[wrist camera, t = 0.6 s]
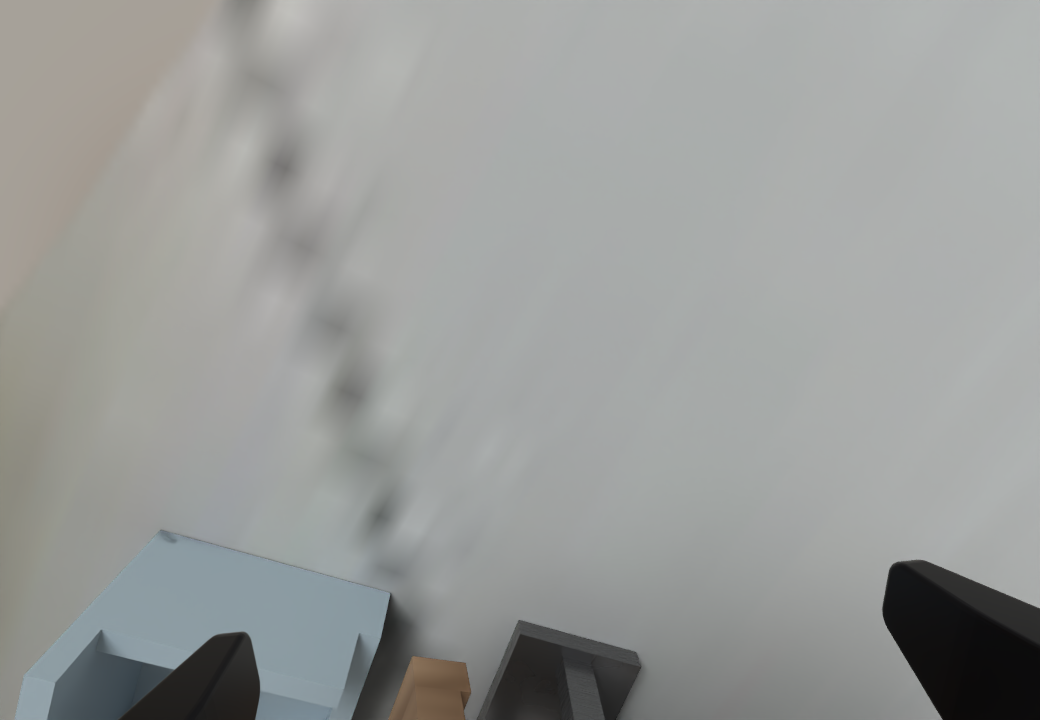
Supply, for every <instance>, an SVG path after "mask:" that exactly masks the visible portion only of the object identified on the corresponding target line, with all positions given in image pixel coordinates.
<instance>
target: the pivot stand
mask: <svg viewBox="0 0 1040 720" xmlns="http://www.w3.org/2000/svg"><path fill="white" fill-rule="evenodd" d="M640 668H641V665H640V662H639V659H638V657H637V654H636V652H633V651H629V650H625V649H622V648H618V647H615V646H611V645H607V644H604V643H600V642H596V641H593V640H589V639H586V638H582V637H578V636H575V635H571V634H567V633H564V632H560V631H557V630H553V629H549V628H546V627H542V626H538V625H535V624H531V623H528V622H524V621H520V620H519V621H518V623H517V626H516V628H515V630H514V633H513V635H512V637H511V640H510V642H509V645H508V647H507V649H506V652H505V654H504V656H503V659H502V661H501V664H500V666H499V668H498V671H497V673H496V676H495V678H494V680H493V683H492V685H491V687H490V690H489V692H488V695H487V697H486V699H485V702H484V704H483V706H482V709H481V711H480V714H479V716H478V718H477V720H616V718H617V716H618V714H619V712H620V710H621V708H622V706H623V704H624V701H625V699H626V697H627V695H628V693H629V691H630V689H631V687H632V685H633V683H634V681H635V679H636V677H637V674H638V672H639V670H640Z"/></svg>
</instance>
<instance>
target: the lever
mask: <svg viewBox="0 0 1040 720" xmlns="http://www.w3.org/2000/svg"><path fill="white" fill-rule="evenodd" d="M470 694H471V688H470V683H469V678H468V673H467V668H466V663H462V662H454V661H446V660H438V659H431V658H423V657H415V656H412V658H411V661H410V664H409V666H408V669H407V671H406V674H405V677H404V679H403V682H402V685H401V687H400V690H399V692H398V695H397V698H396V700H395V703H394V706H393V708H392V711H391V713H390V716H389V719H388V720H465V716H464V709H465V706H466V704H467V701H468V699H469V696H470Z"/></svg>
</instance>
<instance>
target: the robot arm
mask: <svg viewBox="0 0 1040 720" xmlns="http://www.w3.org/2000/svg"><path fill="white" fill-rule="evenodd" d="M882 611H883V618H884V621H885V624H886V626H887V628H888V630H889V631H890V633H891V635H892V636H893V638H894V640H895V641H896V643H897V645H898V646H899V648H900V650H901V651H902V653H903V655H904V656H905V658H906V660H907V661H908V663H909V665H910V666H911V668H912V670H913V671H914V673H915V675H916V676H917V678H918V680H919V681H920V683H921V685H922V686H923V688H924V690H925V691H926V693H927V695H928V696H929V698H930V700H931V701H932V703H933V705H934V706H935V708H936V710H937V711H938V713H939V714H940V716H941V718H942V719H943V720H1040V608H1037V607H1035V606H1033V605H1030V604H1028V603H1025V602H1023V601H1021V600H1018V599H1016V598H1013V597H1011V596H1009V595H1006V594H1004V593H1001V592H999V591H997V590H994V589H992V588H989V587H987V586H985V585H982V584H980V583H977V582H975V581H973V580H970V579H968V578H966V577H963V576H961V575H958V574H956V573H954V572H951V571H949V570H946V569H944V568H942V567H939V566H937V565H934V564H932V563H930V562H927V561H924V560H911V561H901V562H896V563H894V564H893V565H892V566H891V568H890V570H889V574H888V579H887V585H886V590H885V596H884V601H883V608H882ZM259 698H260V678H259V673H258V669H257V664H256V659H255V655H254V650H253V645H252V641H251V638H250V636H249V634H248V633H246V632H243V631H241V632H231V633H222V634H217V635H214V636H213V637H211V638H210V639H209V640H208V641H206V642H205V643H204V644H203V645H202V646H201V647H200V648H198V649H197V650H196V651H195V652H194V653H193V654H192V655H191V656H189V657H188V658H187V659H186V660H185V661H184V662H183V663H181V664H180V665H179V666H178V667H177V668H176V669H175V670H174V671H172V672H171V673H170V674H169V675H168V676H167V677H166V678H164V679H163V680H162V681H161V682H160V683H159V684H158V685H157V686H155V687H154V688H153V689H152V690H151V691H150V692H149V693H147V694H146V695H145V696H144V697H143V698H142V699H141V700H140V701H138V702H137V703H136V704H135V705H134V706H133V707H132V708H130V709H129V710H128V711H127V712H126V713H125V714H124V715H123V716H121V717H120V718H119V719H118V720H255V719H256V714H257V709H258V704H259Z"/></svg>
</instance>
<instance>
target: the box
mask: <svg viewBox="0 0 1040 720" xmlns="http://www.w3.org/2000/svg"><path fill="white" fill-rule="evenodd" d="M390 594H391V593H389V592H385V591H381V590H378V589H374V588H370V587H367V586H363V585H359V584H356V583H352V582H349V581H345V580H341V579H338V578H334V577H330V576H327V575H323V574H319V573H316V572H312V571H308V570H305V569H301V568H297V567H294V566H290V565H286V564H283V563H279V562H275V561H272V560H268V559H264V558H261V557H257V556H254V555H250V554H246V553H243V552H239V551H235V550H232V549H228V548H224V547H221V546H217V545H213V544H210V543H206V542H202V541H199V540H195V539H191V538H188V537H184V536H180V535H177V534H173V533H170V532H166V531H162V530H160V531H159V532H158V533H157V534H156V535H155V536H154V538H153V539H152V540H151V541H150V542H149V543H148V544H147V545H146V546H145V547H144V548H143V549H142V550H141V551H140V552H139V553H138V555H137V556H136V557H135V558H134V559H133V560H132V561H131V562H130V563H129V564H128V565H127V566H126V567H125V568H124V569H123V570H122V572H121V573H120V574H119V575H118V576H117V577H116V578H115V579H114V580H113V581H112V582H111V583H110V584H109V585H108V586H107V587H106V589H105V590H104V591H103V592H102V593H101V594H100V595H99V596H98V597H97V598H96V599H95V600H94V601H93V602H92V603H91V605H90V606H89V607H88V608H87V609H86V610H85V611H84V612H83V613H82V614H81V615H80V616H79V617H78V618H77V619H76V620H75V622H74V623H73V624H72V625H71V626H70V627H69V628H68V629H67V630H66V631H65V632H64V633H63V634H62V635H61V636H60V637H59V639H58V640H57V641H56V642H55V643H54V644H53V645H52V646H51V647H50V648H49V649H48V650H47V651H46V652H45V653H44V654H43V656H42V657H41V658H40V659H39V660H38V661H37V662H36V663H35V664H34V665H33V666H32V667H31V668H30V669H29V670H28V672H27V673H26V674H25V675H24V678H23V683H22V687H21V692H20V697H19V701H18V706H17V711H16V715H15V720H118V719H119V718H120V717H121V716H123V715H124V714H125V713H126V712H127V711H128V710H129V709H130V708H132V707H133V706H134V705H135V704H136V703H137V702H138V701H140V700H141V699H142V698H143V697H144V696H145V695H146V694H147V693H149V692H150V691H151V690H152V689H153V688H154V687H155V686H157V685H158V684H159V683H160V682H161V681H162V680H163V679H164V678H166V677H167V676H168V675H169V674H170V673H171V672H172V671H174V670H175V669H176V668H177V667H178V666H179V665H180V664H181V663H183V662H184V661H185V660H186V659H187V658H188V657H189V656H191V655H192V654H193V653H194V652H195V651H196V650H197V649H198V648H200V647H201V646H202V645H203V644H204V643H205V642H206V641H208V640H209V639H210V638H211V637H213V636H214V635H217V634H222V633H231V632H241V631H243V632H246V633H248V634H249V636H250V638H251V641H252V645H253V650H254V655H255V659H256V664H257V669H258V673H259V678H260V698H259V704H258V709H257V714H256V719H255V720H351V719H352V716H353V713H354V710H355V708H356V705H357V702H358V699H359V697H360V694H361V691H362V688H363V686H364V683H365V680H366V677H367V675H368V672H369V669H370V666H371V664H372V661H373V658H374V655H375V653H376V650H377V647H378V644H379V642H380V639H381V635H382V630H383V626H384V621H385V616H386V612H387V607H388V603H389V598H390Z"/></svg>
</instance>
